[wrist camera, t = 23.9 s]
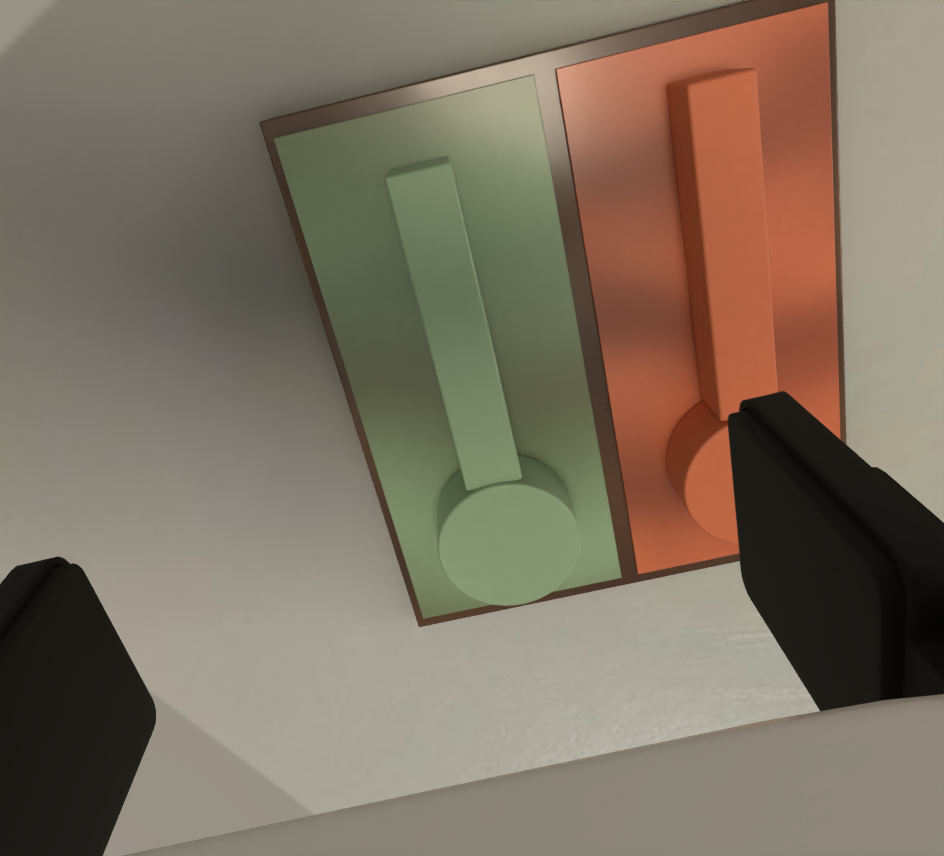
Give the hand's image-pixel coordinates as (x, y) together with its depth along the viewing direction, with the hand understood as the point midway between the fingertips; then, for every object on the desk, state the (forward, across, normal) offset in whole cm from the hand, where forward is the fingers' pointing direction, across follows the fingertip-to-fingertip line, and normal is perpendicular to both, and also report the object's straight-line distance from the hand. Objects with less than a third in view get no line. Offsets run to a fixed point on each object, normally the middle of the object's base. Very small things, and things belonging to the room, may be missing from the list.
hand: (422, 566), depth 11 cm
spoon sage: (+14, -1, +3) cm, 14 cm away
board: (+14, -5, +3) cm, 16 cm away
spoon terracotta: (+14, -9, +3) cm, 17 cm away
